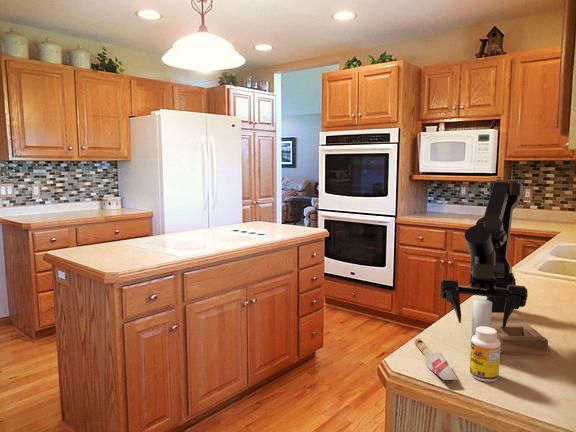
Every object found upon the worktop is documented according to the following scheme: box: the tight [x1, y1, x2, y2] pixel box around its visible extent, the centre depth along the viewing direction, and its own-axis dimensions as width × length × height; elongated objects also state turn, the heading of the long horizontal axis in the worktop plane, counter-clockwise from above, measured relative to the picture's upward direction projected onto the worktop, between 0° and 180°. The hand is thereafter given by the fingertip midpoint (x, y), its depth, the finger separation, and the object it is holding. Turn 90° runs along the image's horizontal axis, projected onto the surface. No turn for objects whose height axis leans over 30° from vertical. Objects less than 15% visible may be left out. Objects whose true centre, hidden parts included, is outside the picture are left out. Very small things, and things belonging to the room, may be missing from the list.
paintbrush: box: [414, 338, 458, 381], centre depth 97 cm, size 4×3×20 cm
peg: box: [470, 298, 492, 339], centre depth 101 cm, size 4×4×12 cm
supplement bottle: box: [469, 326, 501, 383], centre depth 90 cm, size 6×6×10 cm
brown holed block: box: [491, 312, 549, 356], centre depth 109 cm, size 18×10×4 cm, turn 175°
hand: (481, 325), depth 100 cm, fingers open, 9 cm apart
